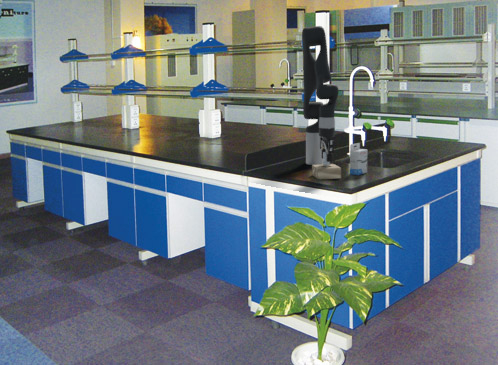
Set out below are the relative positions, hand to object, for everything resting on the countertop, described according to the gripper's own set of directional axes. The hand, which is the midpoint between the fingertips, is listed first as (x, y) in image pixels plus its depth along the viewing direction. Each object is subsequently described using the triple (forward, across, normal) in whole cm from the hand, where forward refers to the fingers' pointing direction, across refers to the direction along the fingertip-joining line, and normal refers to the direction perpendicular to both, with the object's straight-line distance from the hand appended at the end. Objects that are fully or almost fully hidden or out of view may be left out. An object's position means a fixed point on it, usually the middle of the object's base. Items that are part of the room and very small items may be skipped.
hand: (326, 160), depth 292 cm
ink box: (+8, -3, +17) cm, 20 cm away
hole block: (+8, 0, 0) cm, 8 cm away
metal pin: (+8, 0, 0) cm, 8 cm away
